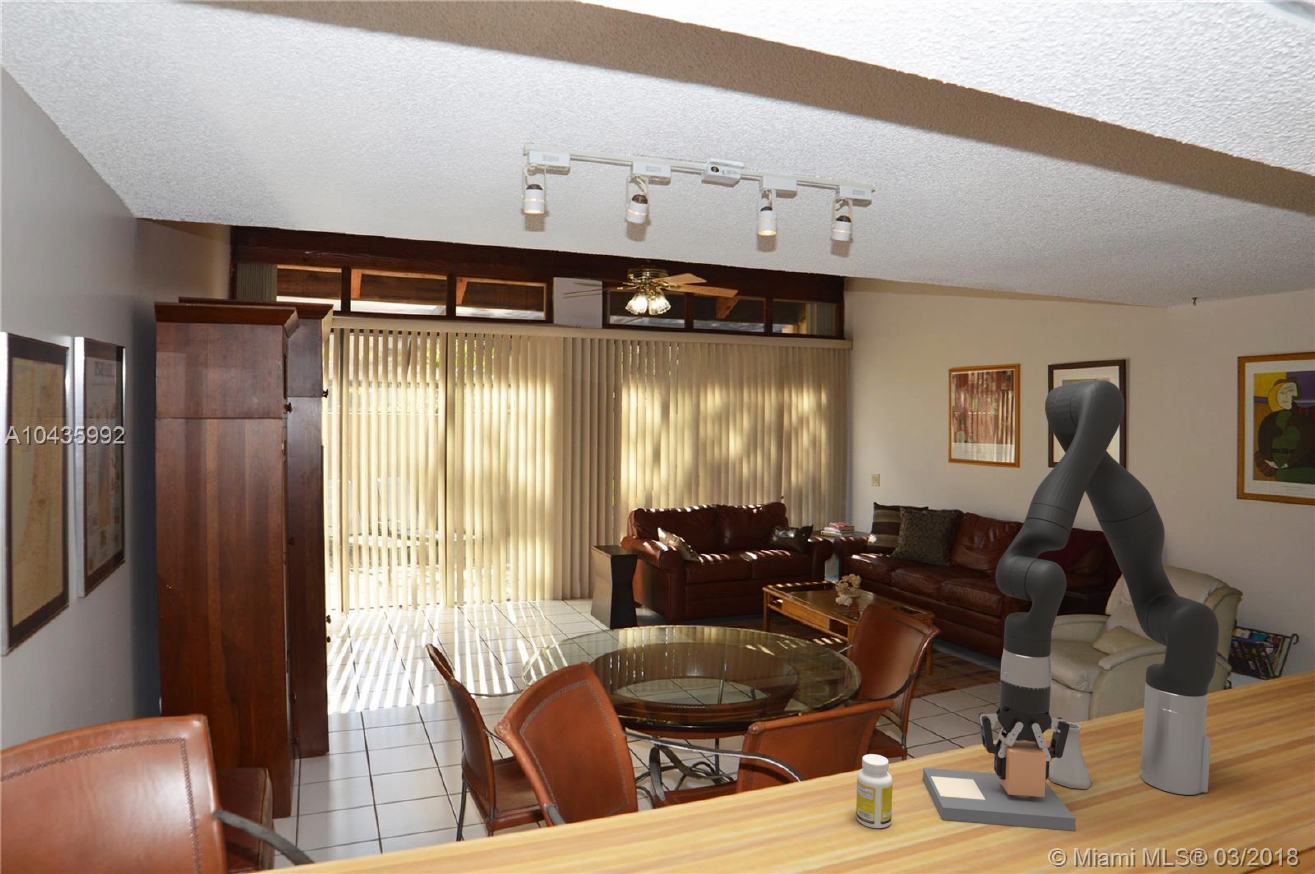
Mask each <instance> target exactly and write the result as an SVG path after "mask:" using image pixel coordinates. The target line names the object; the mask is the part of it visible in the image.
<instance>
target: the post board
mask: <svg viewBox="0 0 1315 874" xmlns="http://www.w3.org/2000/svg"><path fill="white" fill-rule="evenodd" d="M922 780H923V783H924V785H925V786H926V788H927V791H928V793H929V795H930V796H931V800H932V801H933V803H934V805H935V807H936V810H937V812H938V814H939V816H940V818H941V820H943V821H951V822H954V821H955V822H965V823H966V822H967V823H974V824H975V823H976V824H987V825H988V824H990V825H999V826H1000V825H1001V826H1013V827H1024V828H1035V829H1048V830H1049V829H1050V830H1059V831H1060V830H1061V831H1062V830H1063V831H1073V832H1074V831H1075V832H1076V817H1075V815H1073V813H1072V812H1071V811H1070V809H1068V807H1067V806H1066V805H1065V804H1064V802H1063V800H1061V798H1060V797H1059V796H1058V795H1057V793H1056V792H1055V791H1054V789H1052V787H1051V786H1050V784H1049V783H1048V782H1047V781H1046V780H1045V797H1038V796H1024V795H1010V794H1008V793H1007V792H1006V790H1005V789H1004V787H1003V786H1002V784H1001V783H1000V781H999V780H998V775H997V774H996V773H995V772H985V771H983V772H982V771H968V770H960V769H959V770H958V769H944V768H933V767H922Z"/></svg>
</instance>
